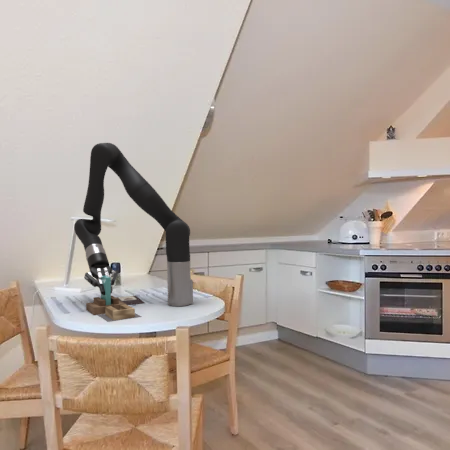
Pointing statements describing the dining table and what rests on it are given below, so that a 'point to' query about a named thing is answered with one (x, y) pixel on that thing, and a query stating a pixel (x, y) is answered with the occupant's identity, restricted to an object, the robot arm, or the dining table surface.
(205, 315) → the dining table surface
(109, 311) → the rack
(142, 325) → the dining table surface
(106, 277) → the teal rectangular pillar
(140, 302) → the chocolate bar
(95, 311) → the brown wooden stand
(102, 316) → the mat
